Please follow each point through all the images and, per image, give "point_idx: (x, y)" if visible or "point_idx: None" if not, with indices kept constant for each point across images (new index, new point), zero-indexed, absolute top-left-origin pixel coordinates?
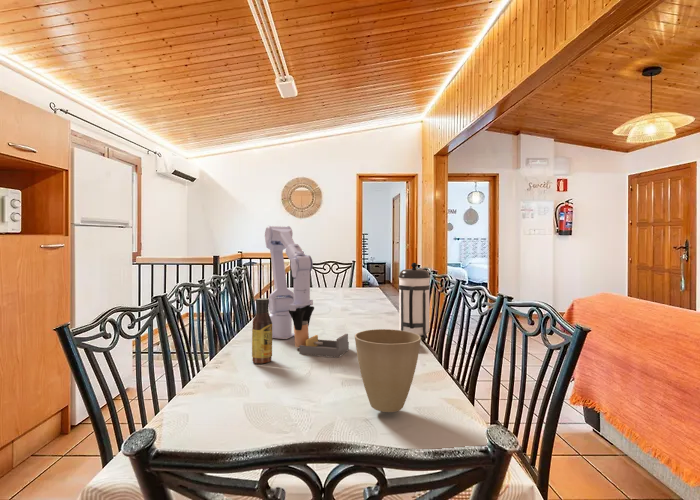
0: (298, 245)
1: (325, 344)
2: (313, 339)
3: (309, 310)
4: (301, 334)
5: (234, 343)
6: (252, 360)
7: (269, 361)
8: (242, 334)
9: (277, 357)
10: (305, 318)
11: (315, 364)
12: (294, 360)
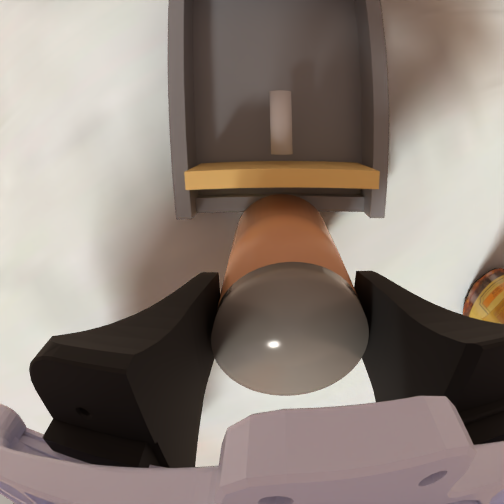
0: None
1: (192, 111)
2: (273, 166)
3: (159, 374)
4: (339, 255)
5: None
6: None
7: (501, 268)
8: None
9: (437, 278)
10: (199, 344)
11: (485, 69)
12: (466, 181)
